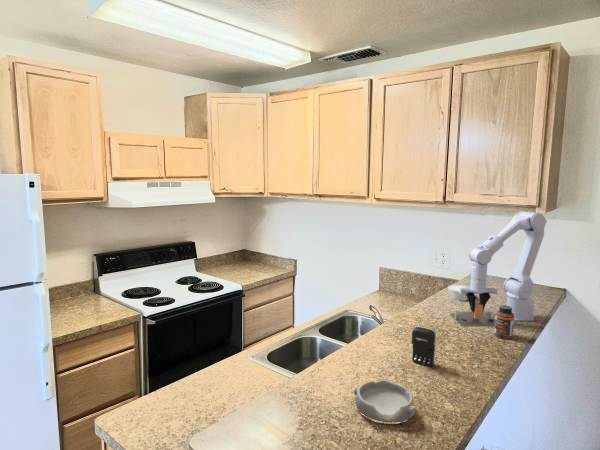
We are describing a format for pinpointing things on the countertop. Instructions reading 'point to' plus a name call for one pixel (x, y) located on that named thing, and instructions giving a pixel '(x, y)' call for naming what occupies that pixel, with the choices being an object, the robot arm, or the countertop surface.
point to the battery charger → (423, 345)
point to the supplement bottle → (504, 322)
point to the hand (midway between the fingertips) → (476, 310)
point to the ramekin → (457, 292)
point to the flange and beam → (468, 318)
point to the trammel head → (478, 310)
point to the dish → (385, 401)
